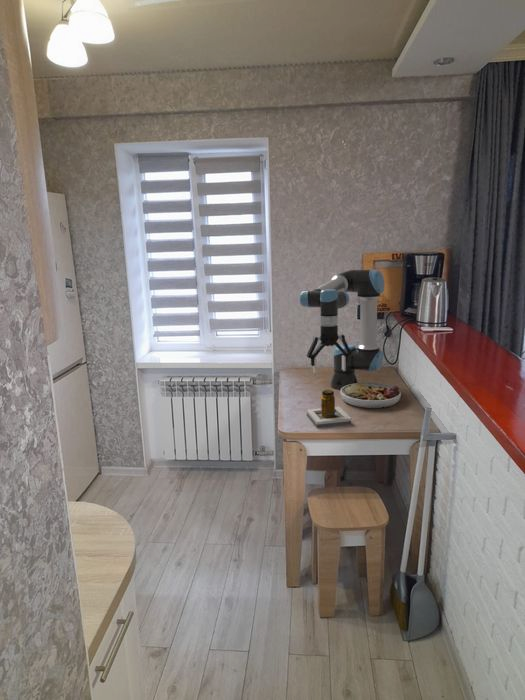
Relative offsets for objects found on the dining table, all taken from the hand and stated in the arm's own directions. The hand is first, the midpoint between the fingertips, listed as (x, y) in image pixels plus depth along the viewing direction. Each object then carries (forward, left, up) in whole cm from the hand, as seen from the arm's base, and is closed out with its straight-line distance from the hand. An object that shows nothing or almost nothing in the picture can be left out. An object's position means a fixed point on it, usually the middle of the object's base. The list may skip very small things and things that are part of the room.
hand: (329, 371), depth 210 cm
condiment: (0, 0, -22) cm, 22 cm away
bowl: (-20, +29, -23) cm, 42 cm away
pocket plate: (0, -1, -23) cm, 23 cm away
